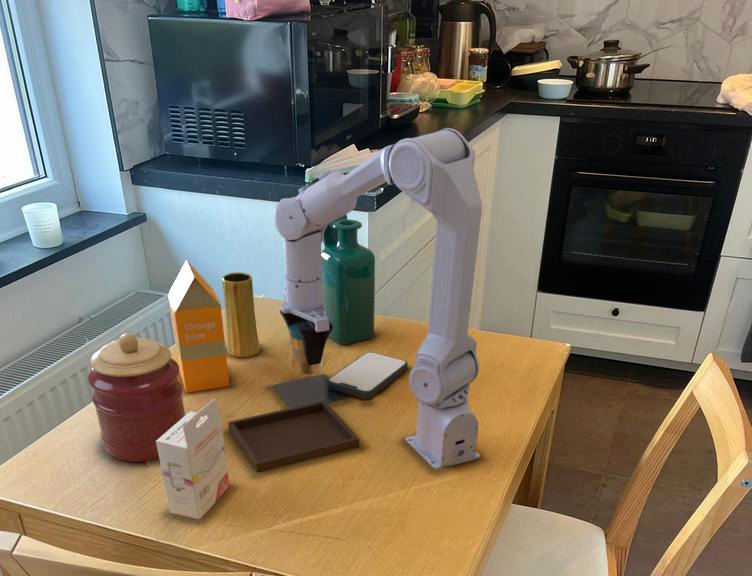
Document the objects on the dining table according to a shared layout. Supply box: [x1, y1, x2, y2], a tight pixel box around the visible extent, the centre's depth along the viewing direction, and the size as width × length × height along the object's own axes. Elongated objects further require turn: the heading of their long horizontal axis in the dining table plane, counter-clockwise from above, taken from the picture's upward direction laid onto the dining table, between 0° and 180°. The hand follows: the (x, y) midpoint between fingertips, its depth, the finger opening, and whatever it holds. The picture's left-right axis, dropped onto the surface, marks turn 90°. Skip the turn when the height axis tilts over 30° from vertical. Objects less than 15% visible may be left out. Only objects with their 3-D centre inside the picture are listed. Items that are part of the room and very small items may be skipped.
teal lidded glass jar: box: [288, 321, 324, 375], centre depth 127 cm, size 5×5×7 cm
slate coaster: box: [271, 373, 348, 409], centre depth 132 cm, size 10×10×1 cm
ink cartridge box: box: [156, 397, 230, 520], centre depth 102 cm, size 9×5×15 cm, turn 160°
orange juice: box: [167, 259, 230, 393], centre depth 131 cm, size 8×9×20 cm
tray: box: [227, 401, 360, 473], centre depth 119 cm, size 13×16×2 cm
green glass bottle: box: [321, 214, 376, 345], centre depth 147 cm, size 10×8×22 cm
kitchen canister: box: [87, 333, 186, 463], centre depth 114 cm, size 13×13×18 cm
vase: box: [221, 271, 261, 358], centre depth 142 cm, size 6×6×14 cm
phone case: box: [327, 351, 409, 400], centre depth 136 cm, size 9×2×16 cm
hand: (307, 356), depth 128 cm, fingers closed on teal lidded glass jar, 5 cm apart
